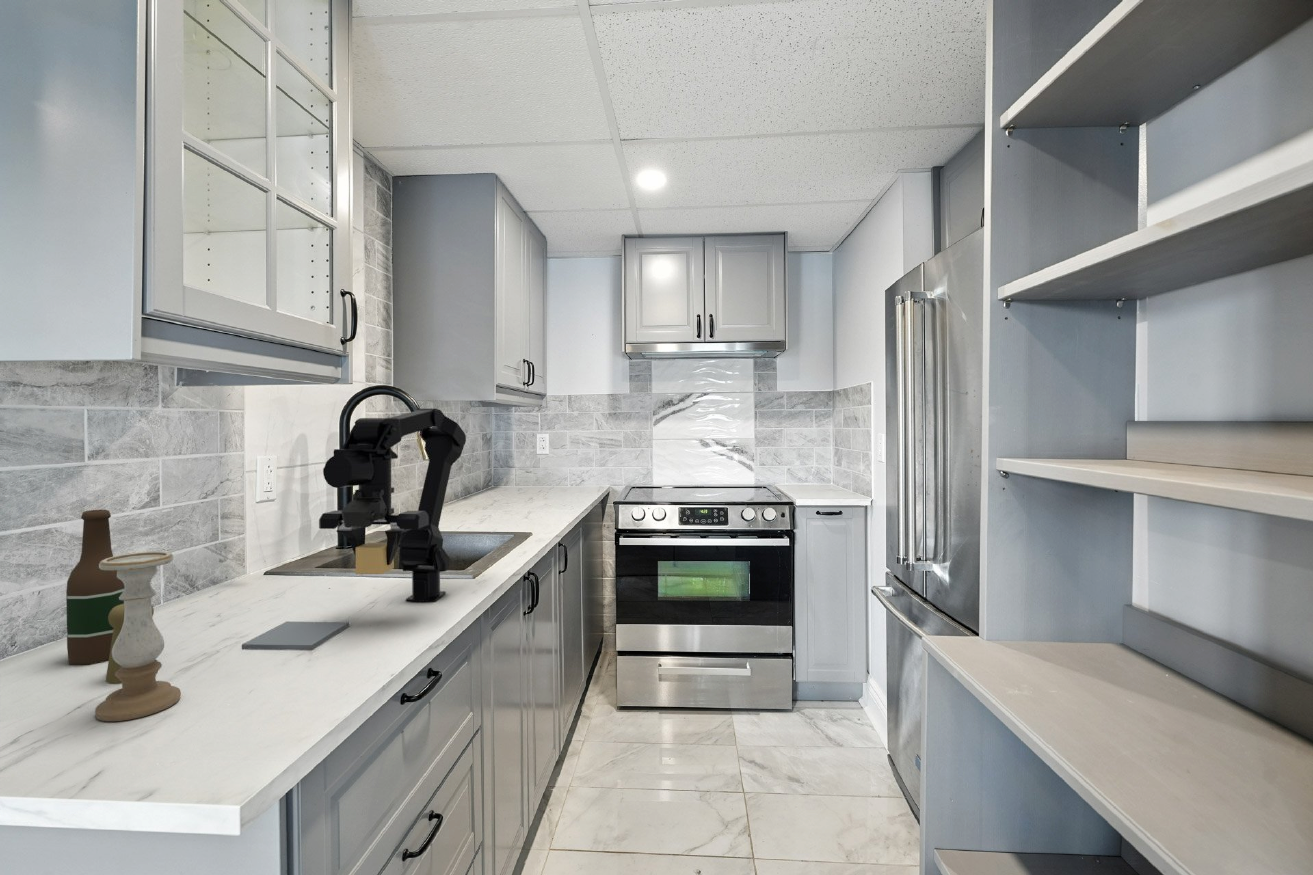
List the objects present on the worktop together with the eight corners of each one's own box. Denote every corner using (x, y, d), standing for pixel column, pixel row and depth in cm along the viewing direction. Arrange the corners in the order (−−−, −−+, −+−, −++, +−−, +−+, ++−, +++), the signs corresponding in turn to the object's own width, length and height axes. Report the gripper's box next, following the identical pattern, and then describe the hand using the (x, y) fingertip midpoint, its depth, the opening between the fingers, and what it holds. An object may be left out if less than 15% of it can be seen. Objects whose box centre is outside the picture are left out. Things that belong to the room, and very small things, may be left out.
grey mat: (286, 625, 115) (286, 621, 115) (349, 626, 115) (349, 621, 115) (241, 648, 103) (241, 644, 103) (311, 649, 103) (311, 645, 103)
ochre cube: (368, 568, 119) (368, 542, 119) (393, 568, 119) (393, 542, 119) (355, 574, 114) (355, 547, 114) (382, 574, 114) (382, 547, 114)
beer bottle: (78, 651, 101) (76, 508, 101) (137, 645, 104) (135, 506, 104) (54, 669, 94) (52, 515, 94) (118, 661, 97) (116, 512, 97)
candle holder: (196, 697, 84) (194, 552, 84) (123, 727, 76) (120, 566, 76) (153, 688, 87) (151, 548, 87) (78, 716, 79) (76, 561, 79)
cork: (97, 678, 91) (96, 605, 90) (146, 664, 96) (145, 595, 96) (116, 686, 88) (115, 611, 88) (166, 671, 93) (165, 600, 93)
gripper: (301, 486, 108) (301, 574, 108) (406, 487, 108) (406, 574, 108) (334, 481, 119) (334, 561, 119) (429, 482, 119) (429, 561, 119)
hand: (374, 564), depth 116 cm, fingers closed on ochre cube, 5 cm apart
